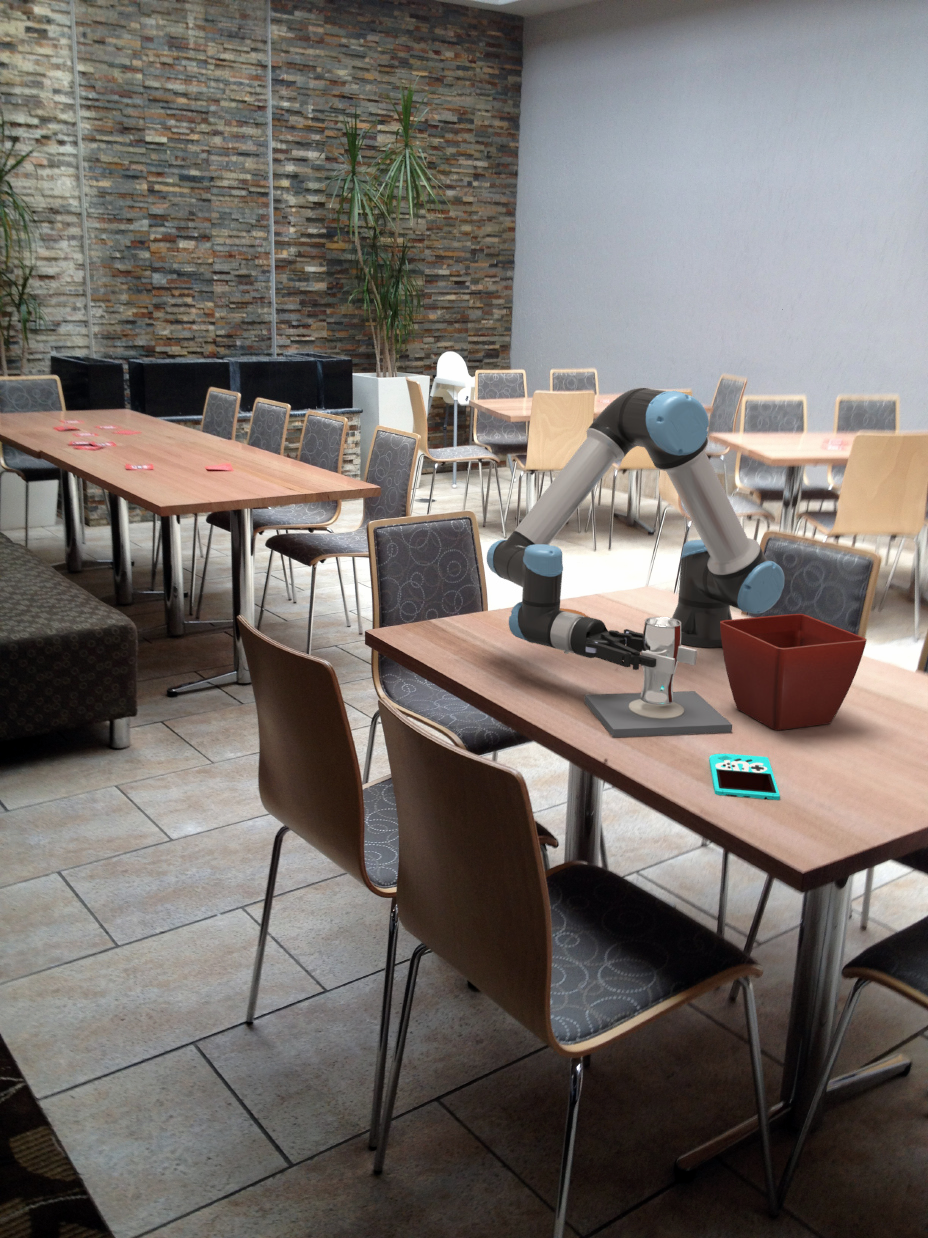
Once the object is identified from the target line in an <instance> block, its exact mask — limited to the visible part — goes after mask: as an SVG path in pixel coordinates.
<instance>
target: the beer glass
mask: <svg viewBox="0 0 928 1238" xmlns="http://www.w3.org/2000/svg"><path fill="white" fill-rule="evenodd" d="M643 624H644V625H643V630H642V633H643V636H642V651H647V652H650V653H654V654H658V655H662V656H666V657H670V658H674V659H675V668H674V674H669V673H665V672H661V671H657V670H654V669H650V668H646V667H643V666H642V668H643V671H642V672H643V685H642V688H641V692H640V693H641V696H640V699H641V701H643V702H644V703H647V704H650V705H657V706H665V705H670V704H672V703H673V702H674V696H673V692H674V684H673V683H674V679H675V674H676V670H677V667H678V664H679V663H678V662H679V661H678V660H679V655H680V649H681V646H682V644H681V622H680V621H679V620H677V619H673V618H672V617H669V616H652V617H651V616H649V617H648V618H645V619H644V623H643Z"/></svg>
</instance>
